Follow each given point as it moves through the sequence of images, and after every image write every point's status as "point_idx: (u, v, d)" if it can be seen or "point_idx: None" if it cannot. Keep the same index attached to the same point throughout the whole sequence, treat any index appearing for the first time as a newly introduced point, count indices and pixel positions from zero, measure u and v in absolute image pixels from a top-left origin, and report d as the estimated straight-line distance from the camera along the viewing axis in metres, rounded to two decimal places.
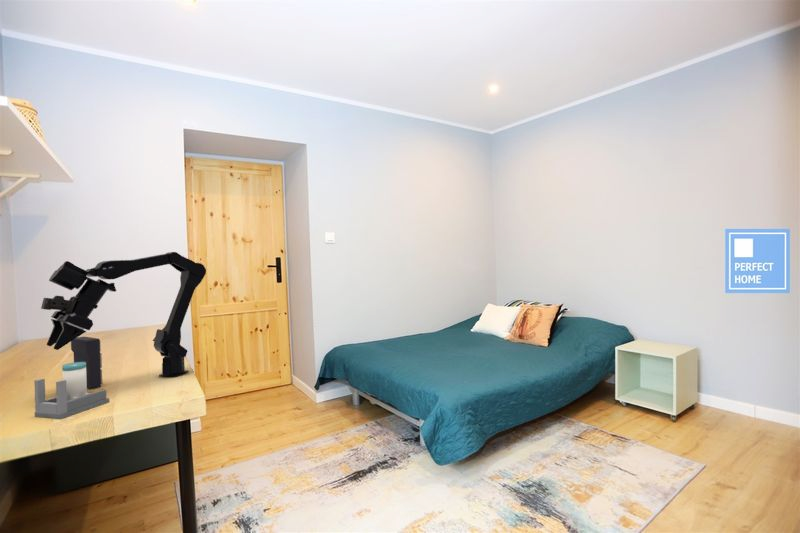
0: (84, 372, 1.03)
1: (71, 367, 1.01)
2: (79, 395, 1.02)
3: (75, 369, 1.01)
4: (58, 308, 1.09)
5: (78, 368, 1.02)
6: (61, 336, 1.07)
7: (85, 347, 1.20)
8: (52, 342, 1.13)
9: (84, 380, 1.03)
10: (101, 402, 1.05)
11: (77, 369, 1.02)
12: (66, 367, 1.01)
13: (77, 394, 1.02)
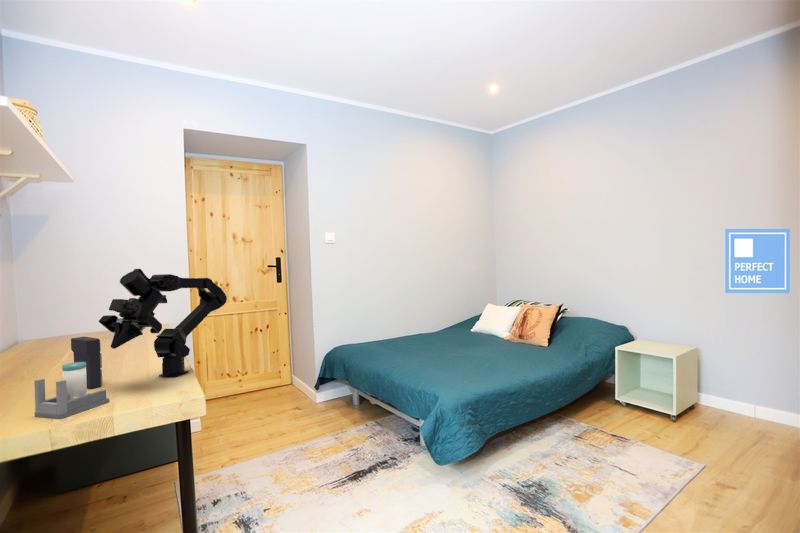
0: (84, 372, 1.03)
1: (71, 367, 1.01)
2: (79, 395, 1.02)
3: (75, 369, 1.01)
4: (129, 310, 1.16)
5: (78, 368, 1.02)
6: (122, 336, 1.15)
7: (85, 347, 1.20)
8: None
9: (84, 380, 1.03)
10: (101, 402, 1.05)
11: (77, 369, 1.02)
12: (66, 367, 1.01)
13: (77, 394, 1.02)
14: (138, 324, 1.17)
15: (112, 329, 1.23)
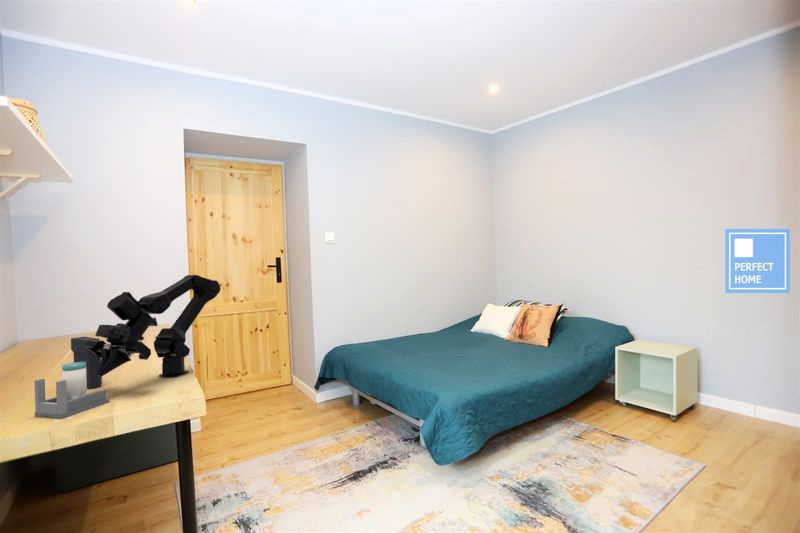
0: (84, 372, 1.03)
1: (71, 367, 1.01)
2: (79, 395, 1.02)
3: (75, 369, 1.01)
4: (116, 336, 1.12)
5: (78, 368, 1.02)
6: (109, 363, 1.11)
7: None
8: None
9: (84, 380, 1.03)
10: (101, 402, 1.05)
11: (77, 369, 1.02)
12: (66, 367, 1.01)
13: (77, 394, 1.02)
14: (126, 350, 1.13)
15: (100, 354, 1.19)
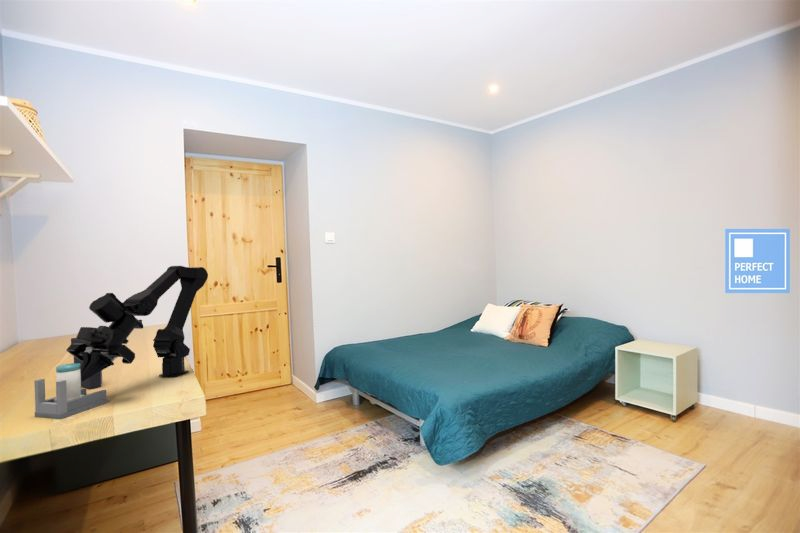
0: (78, 374, 1.02)
1: (65, 368, 1.00)
2: (73, 397, 1.01)
3: (69, 371, 1.00)
4: (99, 339, 1.07)
5: (72, 369, 1.01)
6: (90, 367, 1.06)
7: None
8: None
9: (78, 382, 1.02)
10: (101, 402, 1.05)
11: (72, 371, 1.00)
12: (60, 368, 0.99)
13: (71, 395, 1.00)
14: (109, 354, 1.08)
15: (82, 358, 1.13)
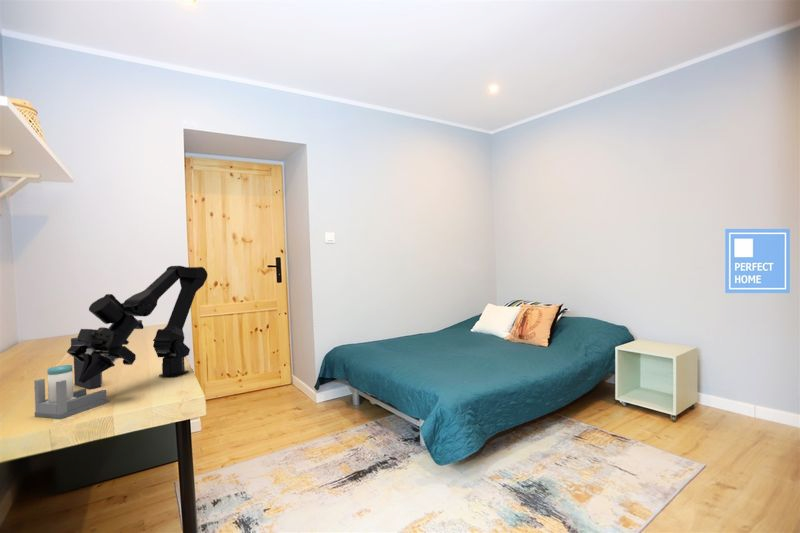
0: (70, 376, 1.00)
1: (56, 371, 0.98)
2: None
3: (60, 373, 0.98)
4: (99, 341, 1.07)
5: (64, 372, 0.99)
6: (91, 369, 1.06)
7: None
8: None
9: (70, 384, 1.00)
10: (101, 402, 1.05)
11: (63, 373, 0.99)
12: (51, 371, 0.97)
13: None
14: (109, 355, 1.09)
15: (82, 359, 1.14)
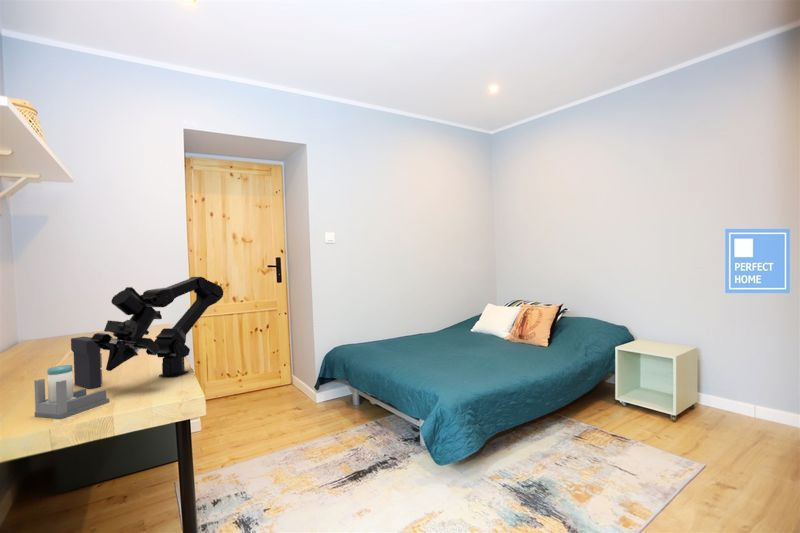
0: (70, 376, 1.00)
1: (56, 371, 0.98)
2: None
3: (60, 373, 0.98)
4: (125, 332, 1.14)
5: (64, 372, 0.99)
6: (117, 358, 1.13)
7: (85, 347, 1.20)
8: None
9: (70, 384, 1.00)
10: (101, 402, 1.05)
11: (63, 373, 0.99)
12: (51, 371, 0.97)
13: None
14: (134, 346, 1.16)
15: (103, 346, 1.20)
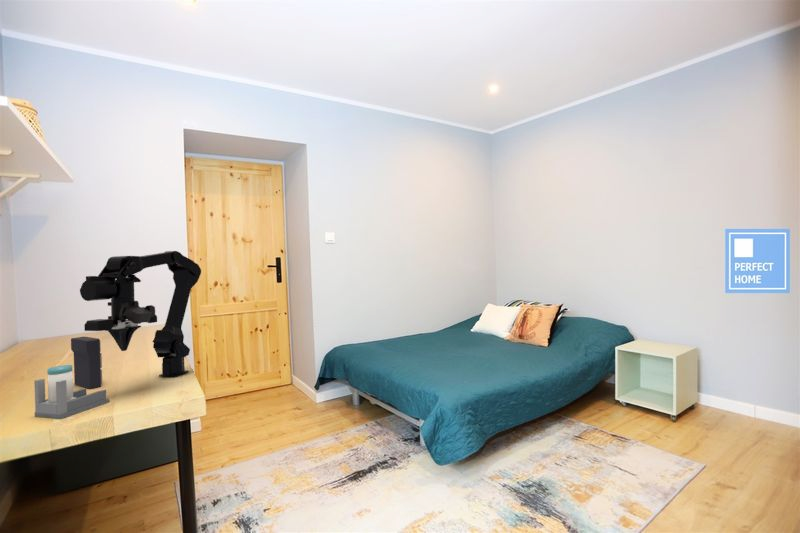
0: (70, 376, 1.00)
1: (56, 371, 0.98)
2: None
3: (60, 373, 0.98)
4: None
5: (64, 372, 0.99)
6: None
7: (85, 347, 1.20)
8: None
9: (70, 384, 1.00)
10: (101, 402, 1.05)
11: (63, 373, 0.99)
12: (51, 371, 0.97)
13: None
14: None
15: None
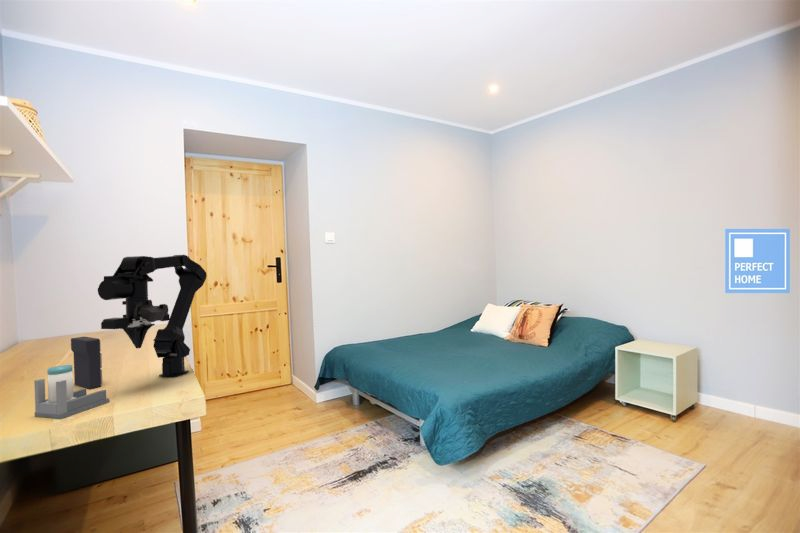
0: (70, 376, 1.00)
1: (56, 371, 0.98)
2: None
3: (60, 373, 0.98)
4: None
5: (64, 372, 0.99)
6: None
7: (85, 347, 1.20)
8: None
9: (70, 384, 1.00)
10: (101, 402, 1.05)
11: (63, 373, 0.99)
12: (51, 371, 0.97)
13: None
14: None
15: None
